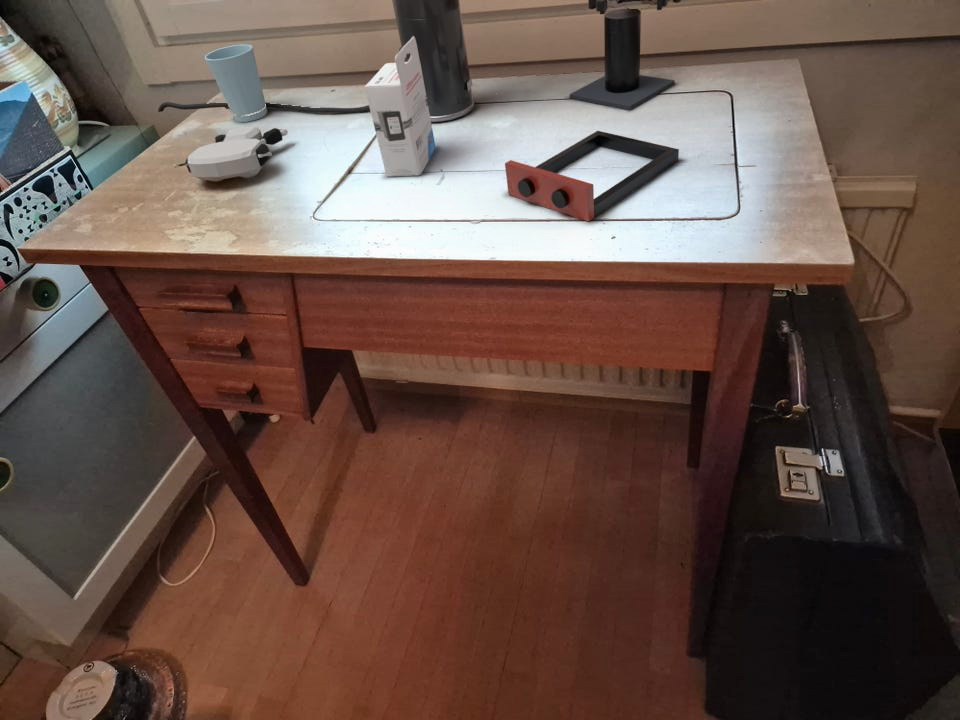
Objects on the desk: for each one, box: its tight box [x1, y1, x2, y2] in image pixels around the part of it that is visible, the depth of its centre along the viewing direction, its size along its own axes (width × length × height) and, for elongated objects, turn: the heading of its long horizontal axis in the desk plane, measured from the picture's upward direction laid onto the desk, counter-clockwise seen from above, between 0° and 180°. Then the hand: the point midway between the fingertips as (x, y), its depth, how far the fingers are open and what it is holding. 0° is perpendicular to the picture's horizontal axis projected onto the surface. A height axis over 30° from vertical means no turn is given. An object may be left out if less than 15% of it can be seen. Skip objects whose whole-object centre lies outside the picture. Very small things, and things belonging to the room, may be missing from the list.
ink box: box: [364, 36, 437, 177], centre depth 84 cm, size 9×5×15 cm, turn 168°
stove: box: [504, 130, 680, 223], centre depth 77 cm, size 12×18×4 cm
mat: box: [568, 74, 676, 111], centre depth 98 cm, size 11×11×1 cm
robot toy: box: [173, 125, 289, 182], centre depth 94 cm, size 12×4×15 cm
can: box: [603, 8, 642, 93], centre depth 94 cm, size 5×5×10 cm
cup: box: [204, 43, 268, 123], centre depth 109 cm, size 8×8×10 cm
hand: (630, 5), depth 99 cm, fingers open, 8 cm apart
